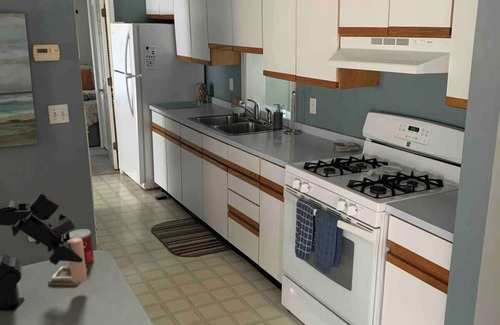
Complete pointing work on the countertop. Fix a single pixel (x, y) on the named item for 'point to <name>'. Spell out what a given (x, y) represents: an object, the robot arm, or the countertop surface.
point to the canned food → (84, 243)
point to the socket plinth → (63, 277)
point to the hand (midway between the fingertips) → (81, 257)
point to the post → (78, 267)
